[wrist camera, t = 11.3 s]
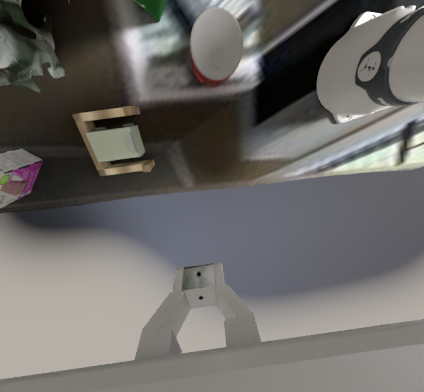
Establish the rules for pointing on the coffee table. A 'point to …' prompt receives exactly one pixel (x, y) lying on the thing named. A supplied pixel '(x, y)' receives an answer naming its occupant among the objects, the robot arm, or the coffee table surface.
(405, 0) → the coffee table surface
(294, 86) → the coffee table surface
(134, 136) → the pale green box
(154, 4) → the milk carton
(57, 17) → the coffee table surface
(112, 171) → the frame
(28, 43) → the rose bouquet
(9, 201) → the candy bar box
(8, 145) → the coffee table surface
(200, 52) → the canned food
